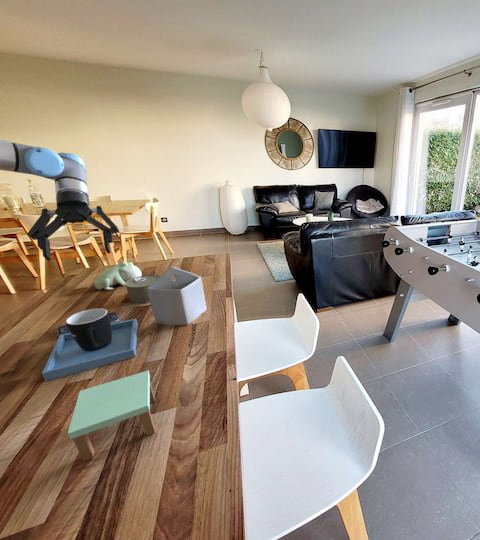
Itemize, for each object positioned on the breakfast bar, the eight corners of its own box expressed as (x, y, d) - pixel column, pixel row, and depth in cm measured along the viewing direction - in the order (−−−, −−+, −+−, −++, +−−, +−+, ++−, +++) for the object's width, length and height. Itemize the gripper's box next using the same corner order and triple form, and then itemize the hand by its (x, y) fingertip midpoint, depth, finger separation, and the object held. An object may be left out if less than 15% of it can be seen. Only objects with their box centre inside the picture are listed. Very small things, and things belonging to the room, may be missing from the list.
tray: (45, 381, 73) (41, 373, 72) (63, 341, 88) (60, 334, 87) (135, 356, 83) (133, 349, 82) (137, 324, 98) (135, 318, 97)
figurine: (145, 282, 128) (139, 262, 124) (96, 293, 117) (89, 270, 114) (141, 276, 135) (135, 255, 131) (95, 285, 124) (87, 263, 120)
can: (140, 305, 110) (136, 289, 107) (122, 298, 114) (118, 282, 112) (171, 293, 120) (168, 278, 117) (154, 287, 124) (150, 272, 122)
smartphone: (119, 319, 99) (58, 336, 88) (119, 321, 99) (59, 339, 89) (114, 311, 104) (56, 326, 93) (115, 313, 104) (57, 329, 93)
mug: (78, 343, 87) (66, 314, 83) (116, 333, 92) (107, 305, 89) (76, 364, 78) (63, 333, 75) (117, 352, 84) (107, 322, 80)
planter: (159, 333, 94) (145, 279, 87) (155, 323, 99) (142, 271, 92) (212, 317, 104) (204, 268, 97) (206, 309, 109) (197, 261, 102)
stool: (81, 463, 55) (67, 433, 52) (91, 418, 64) (79, 390, 61) (156, 433, 61) (148, 405, 58) (156, 396, 70) (148, 370, 67)
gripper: (124, 201, 101) (133, 254, 96) (23, 206, 88) (25, 267, 83) (119, 188, 95) (127, 243, 89) (9, 190, 82) (10, 255, 76)
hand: (78, 254), depth 86 cm, fingers open, 13 cm apart
